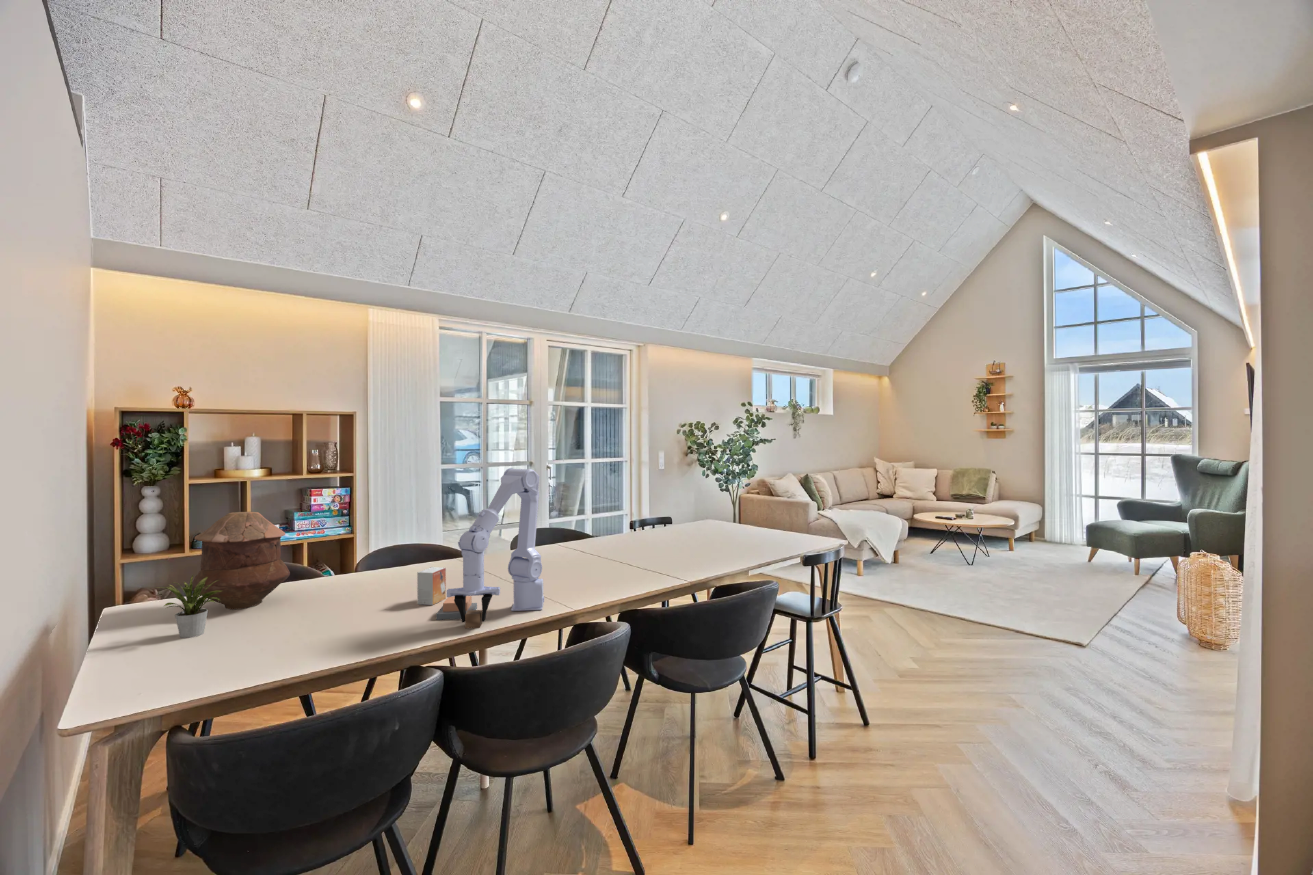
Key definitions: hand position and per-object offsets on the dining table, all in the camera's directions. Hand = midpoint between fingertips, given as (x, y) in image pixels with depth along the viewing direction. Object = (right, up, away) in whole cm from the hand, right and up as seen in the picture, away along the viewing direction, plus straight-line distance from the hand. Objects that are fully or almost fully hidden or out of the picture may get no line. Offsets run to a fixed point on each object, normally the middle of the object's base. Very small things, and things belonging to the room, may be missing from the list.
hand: (473, 620), depth 167 cm
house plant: (-76, -2, -8) cm, 76 cm away
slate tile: (-9, -2, +11) cm, 14 cm away
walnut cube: (0, -2, 0) cm, 2 cm away
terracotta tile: (-9, 0, +11) cm, 14 cm away
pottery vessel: (-82, -2, +21) cm, 84 cm away
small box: (-21, -2, +24) cm, 32 cm away
